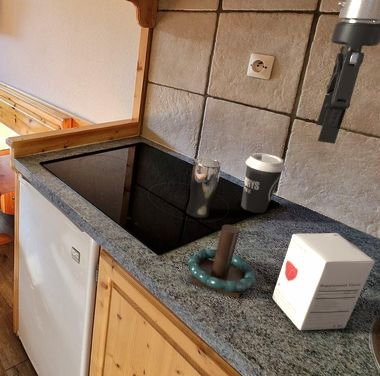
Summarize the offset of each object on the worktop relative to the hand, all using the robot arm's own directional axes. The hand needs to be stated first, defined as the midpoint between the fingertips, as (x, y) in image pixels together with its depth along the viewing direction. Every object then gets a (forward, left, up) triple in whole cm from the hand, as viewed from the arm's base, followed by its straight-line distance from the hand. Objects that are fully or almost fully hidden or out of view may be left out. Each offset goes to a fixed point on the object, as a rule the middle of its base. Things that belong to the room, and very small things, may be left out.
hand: (324, 133), depth 83 cm
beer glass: (+22, -8, -29) cm, 37 cm away
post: (+12, +20, -29) cm, 37 cm away
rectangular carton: (-4, +22, -29) cm, 37 cm away
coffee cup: (+9, -20, -29) cm, 36 cm away
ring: (+12, +19, -26) cm, 35 cm away
